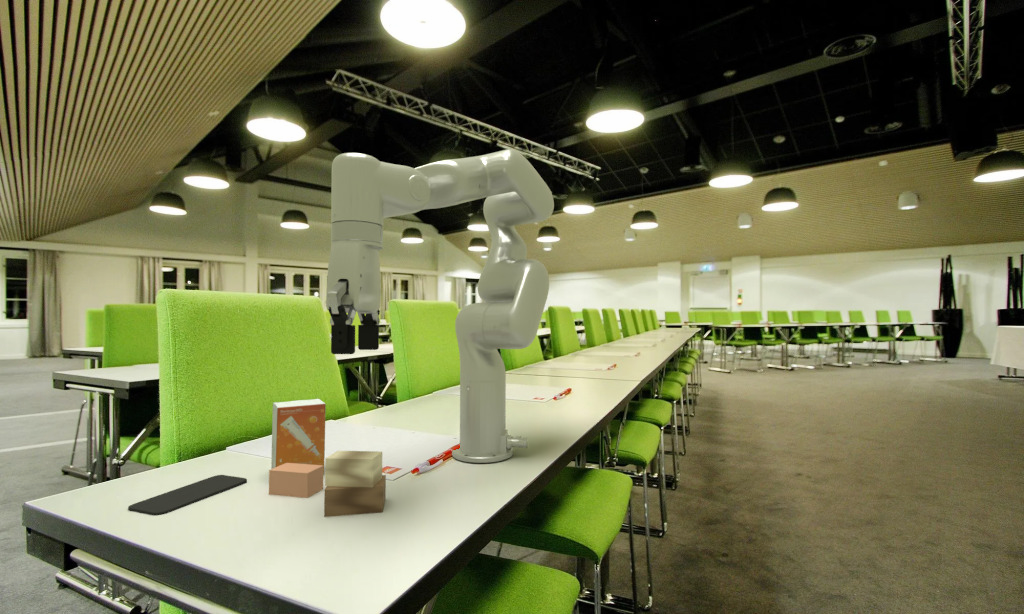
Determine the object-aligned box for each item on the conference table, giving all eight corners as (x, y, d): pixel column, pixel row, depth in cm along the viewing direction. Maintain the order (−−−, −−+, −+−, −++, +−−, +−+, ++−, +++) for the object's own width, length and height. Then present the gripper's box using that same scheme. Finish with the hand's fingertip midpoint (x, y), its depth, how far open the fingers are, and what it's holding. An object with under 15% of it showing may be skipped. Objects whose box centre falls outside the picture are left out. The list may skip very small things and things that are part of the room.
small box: (274, 484, 77) (276, 407, 78) (270, 474, 83) (272, 401, 83) (325, 475, 82) (326, 402, 82) (318, 466, 87) (319, 397, 88)
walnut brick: (385, 501, 71) (385, 474, 71) (382, 514, 66) (383, 486, 66) (331, 504, 69) (331, 478, 69) (324, 518, 64) (324, 489, 65)
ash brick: (382, 478, 69) (382, 451, 70) (372, 487, 66) (372, 459, 66) (337, 477, 70) (337, 450, 70) (325, 486, 66) (325, 458, 66)
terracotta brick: (323, 489, 75) (323, 465, 75) (307, 499, 71) (307, 473, 72) (286, 486, 77) (286, 462, 77) (268, 495, 73) (269, 470, 73)
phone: (123, 507, 67) (218, 474, 81) (123, 512, 67) (218, 478, 81) (159, 513, 65) (250, 478, 79) (158, 519, 65) (250, 483, 79)
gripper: (355, 248, 78) (354, 348, 77) (304, 227, 61) (303, 356, 60) (398, 247, 78) (398, 348, 77) (360, 226, 60) (359, 356, 60)
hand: (356, 351), depth 68 cm, fingers open, 9 cm apart
